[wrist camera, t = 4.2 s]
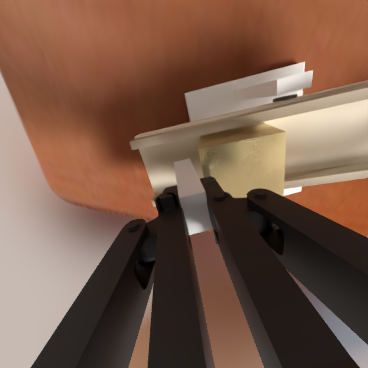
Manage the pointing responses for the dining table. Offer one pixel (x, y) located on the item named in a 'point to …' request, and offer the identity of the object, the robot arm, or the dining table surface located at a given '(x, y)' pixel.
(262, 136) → the block
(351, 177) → the beam
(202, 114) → the stand
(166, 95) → the dining table surface
